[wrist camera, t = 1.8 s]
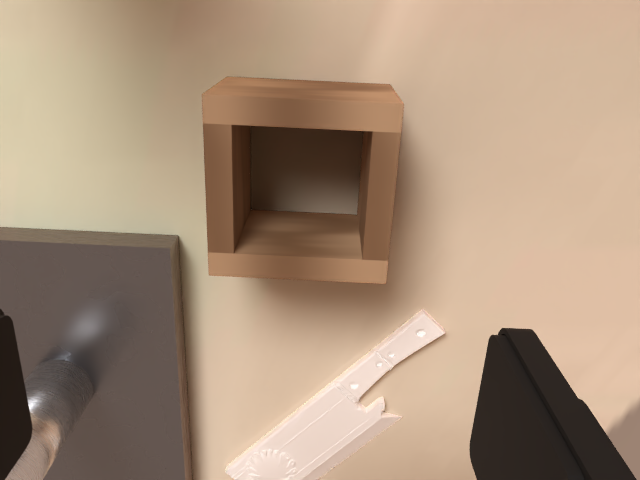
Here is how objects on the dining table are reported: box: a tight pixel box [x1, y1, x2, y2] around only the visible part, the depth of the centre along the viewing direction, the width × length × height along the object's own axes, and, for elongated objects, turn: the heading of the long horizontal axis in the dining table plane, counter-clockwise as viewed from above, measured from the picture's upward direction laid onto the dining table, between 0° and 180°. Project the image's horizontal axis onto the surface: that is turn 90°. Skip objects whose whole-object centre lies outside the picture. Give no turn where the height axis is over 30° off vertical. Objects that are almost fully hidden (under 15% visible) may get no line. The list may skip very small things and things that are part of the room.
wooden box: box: [202, 77, 404, 284], centre depth 23 cm, size 7×7×5 cm
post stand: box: [0, 227, 193, 480], centre depth 26 cm, size 12×16×8 cm
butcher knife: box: [226, 309, 446, 480], centre depth 31 cm, size 5×15×1 cm, turn 135°
